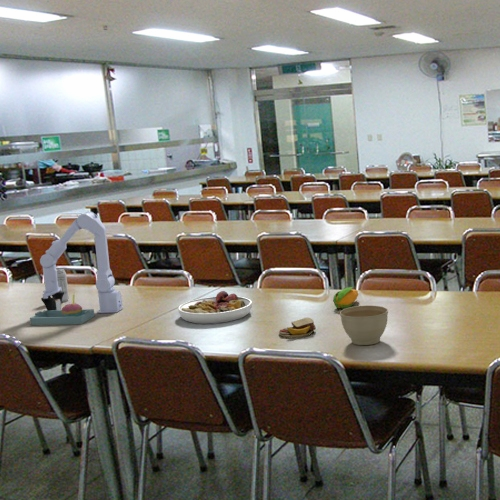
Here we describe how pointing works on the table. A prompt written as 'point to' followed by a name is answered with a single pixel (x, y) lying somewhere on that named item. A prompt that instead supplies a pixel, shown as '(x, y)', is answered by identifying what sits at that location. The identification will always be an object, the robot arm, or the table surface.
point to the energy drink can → (63, 283)
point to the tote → (60, 317)
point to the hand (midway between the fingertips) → (54, 310)
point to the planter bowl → (364, 323)
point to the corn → (345, 298)
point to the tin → (57, 304)
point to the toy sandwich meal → (299, 328)
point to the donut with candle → (72, 309)
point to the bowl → (215, 309)
